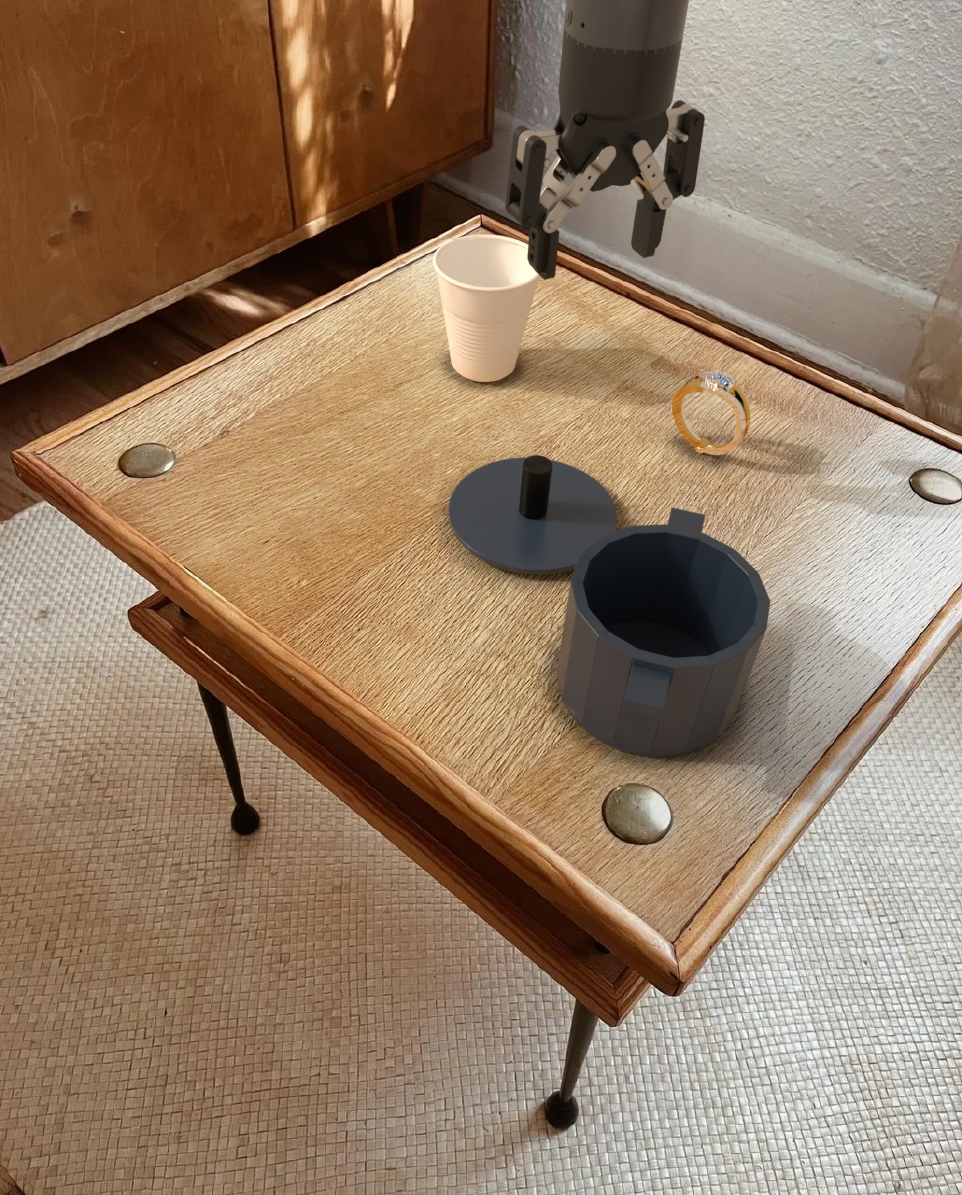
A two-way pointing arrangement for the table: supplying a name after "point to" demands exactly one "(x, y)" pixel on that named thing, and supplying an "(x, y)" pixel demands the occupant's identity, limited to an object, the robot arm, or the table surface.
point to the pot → (660, 637)
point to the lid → (530, 514)
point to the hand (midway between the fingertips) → (593, 263)
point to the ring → (723, 388)
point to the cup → (485, 302)
